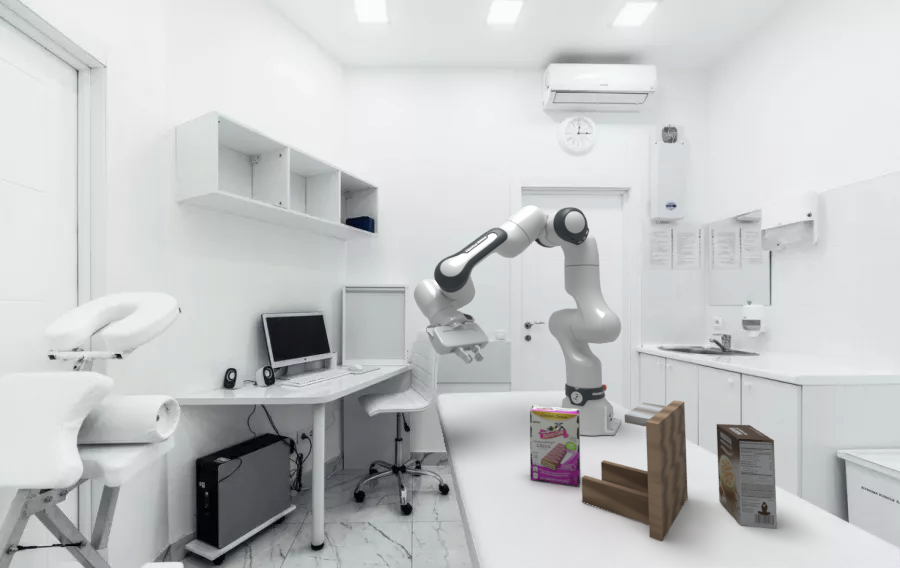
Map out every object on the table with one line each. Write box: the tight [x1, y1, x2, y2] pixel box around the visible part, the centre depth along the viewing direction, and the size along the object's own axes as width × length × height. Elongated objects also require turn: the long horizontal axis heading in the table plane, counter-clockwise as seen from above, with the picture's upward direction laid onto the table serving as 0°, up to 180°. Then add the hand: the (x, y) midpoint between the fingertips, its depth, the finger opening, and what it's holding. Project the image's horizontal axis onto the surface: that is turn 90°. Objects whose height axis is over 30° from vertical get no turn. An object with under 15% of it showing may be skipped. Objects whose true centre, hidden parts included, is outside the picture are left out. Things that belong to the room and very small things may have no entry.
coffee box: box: [716, 423, 778, 529], centre depth 78 cm, size 9×6×16 cm
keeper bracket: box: [581, 400, 689, 542], centre depth 82 cm, size 20×16×20 cm
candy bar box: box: [529, 404, 581, 487], centre depth 94 cm, size 11×5×16 cm, turn 71°
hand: (475, 361), depth 110 cm, fingers open, 3 cm apart
